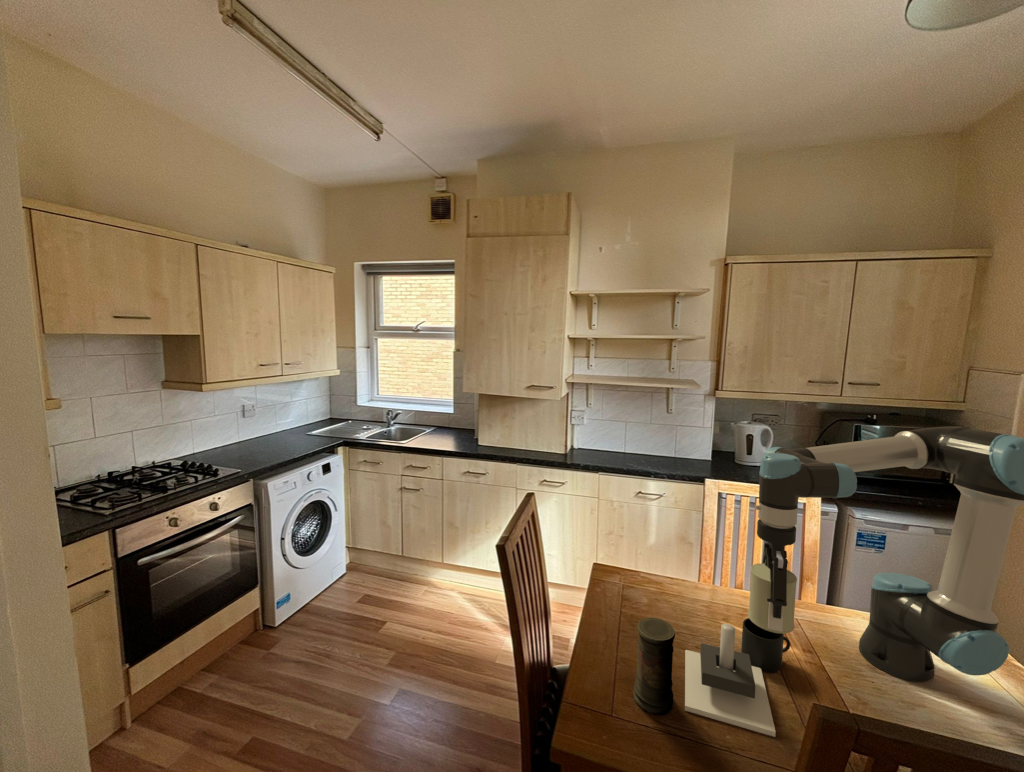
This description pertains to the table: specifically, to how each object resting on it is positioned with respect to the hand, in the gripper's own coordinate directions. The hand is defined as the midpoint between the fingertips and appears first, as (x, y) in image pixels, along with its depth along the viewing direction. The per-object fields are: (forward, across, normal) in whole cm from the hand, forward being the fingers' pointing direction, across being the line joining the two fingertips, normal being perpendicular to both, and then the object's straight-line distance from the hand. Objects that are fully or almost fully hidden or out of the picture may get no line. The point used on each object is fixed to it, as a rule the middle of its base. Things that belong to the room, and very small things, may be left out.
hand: (771, 616), depth 100 cm
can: (+1, 0, 0) cm, 1 cm away
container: (+21, +10, -25) cm, 34 cm away
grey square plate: (+17, 0, -9) cm, 19 cm away
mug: (+22, -16, +2) cm, 27 cm away
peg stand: (+21, 0, -9) cm, 23 cm away
